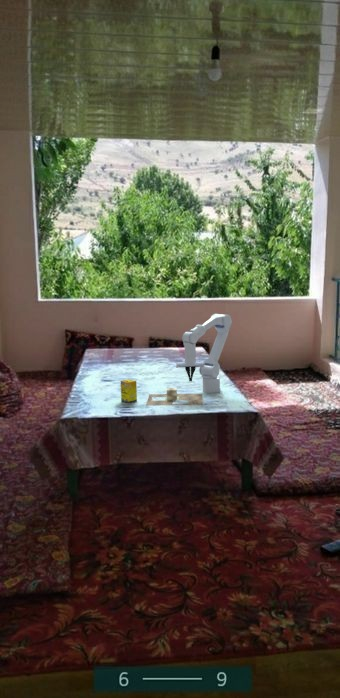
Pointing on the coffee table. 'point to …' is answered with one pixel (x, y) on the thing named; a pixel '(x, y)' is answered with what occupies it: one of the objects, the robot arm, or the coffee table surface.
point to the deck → (193, 399)
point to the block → (171, 393)
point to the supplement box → (128, 391)
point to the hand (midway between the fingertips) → (190, 380)
